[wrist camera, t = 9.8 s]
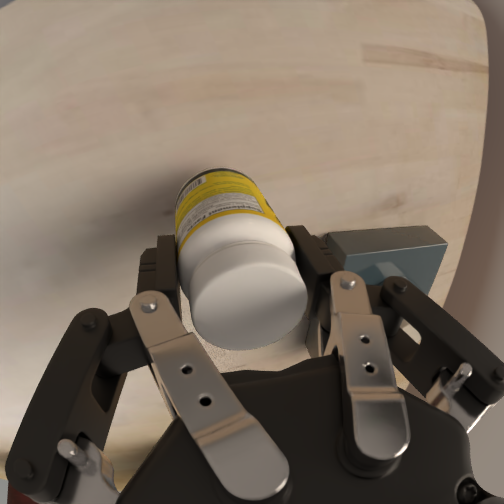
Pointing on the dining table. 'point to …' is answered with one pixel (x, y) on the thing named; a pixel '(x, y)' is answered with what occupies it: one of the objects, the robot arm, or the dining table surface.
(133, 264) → the dining table surface
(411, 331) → the white button cap
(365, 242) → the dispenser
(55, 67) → the dining table surface
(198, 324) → the supplement bottle
